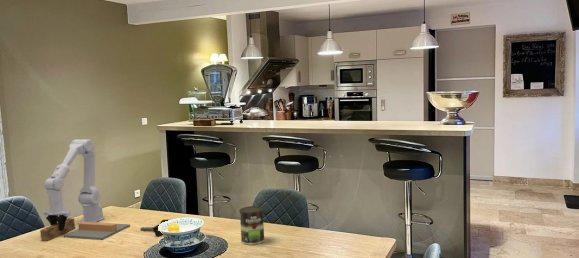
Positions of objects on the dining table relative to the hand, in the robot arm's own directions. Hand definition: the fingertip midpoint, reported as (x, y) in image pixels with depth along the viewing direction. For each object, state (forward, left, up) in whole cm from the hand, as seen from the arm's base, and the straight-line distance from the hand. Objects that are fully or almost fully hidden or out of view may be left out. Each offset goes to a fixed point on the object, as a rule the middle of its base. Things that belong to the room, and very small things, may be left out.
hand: (58, 229), depth 215 cm
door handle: (-16, +46, -3) cm, 49 cm away
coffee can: (-8, +98, -2) cm, 98 cm away
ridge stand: (-7, +17, -2) cm, 19 cm away
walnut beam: (0, 0, -2) cm, 2 cm away
